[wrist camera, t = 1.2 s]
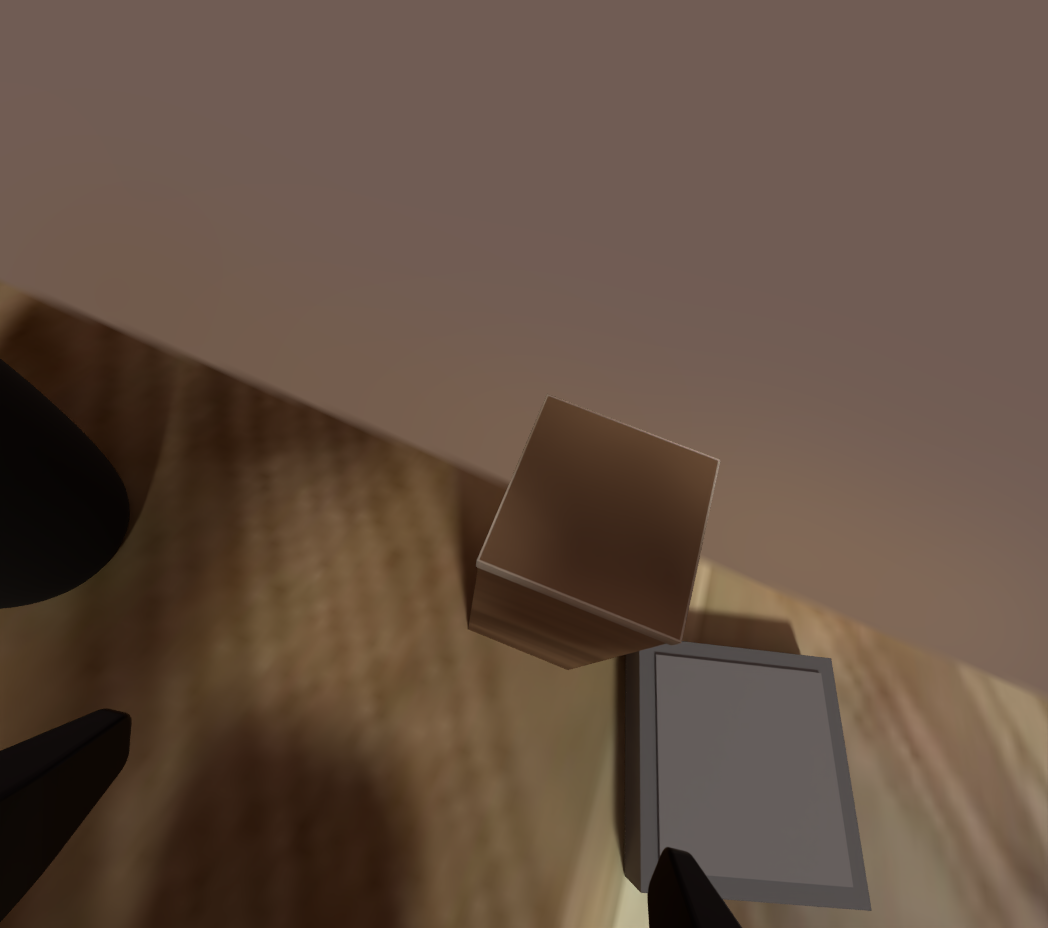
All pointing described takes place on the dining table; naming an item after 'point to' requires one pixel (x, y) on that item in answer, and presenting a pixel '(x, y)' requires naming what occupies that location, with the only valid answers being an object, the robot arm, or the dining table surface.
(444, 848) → the dining table surface
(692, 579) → the brown tall rectangular block
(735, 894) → the slate base
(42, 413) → the mug
